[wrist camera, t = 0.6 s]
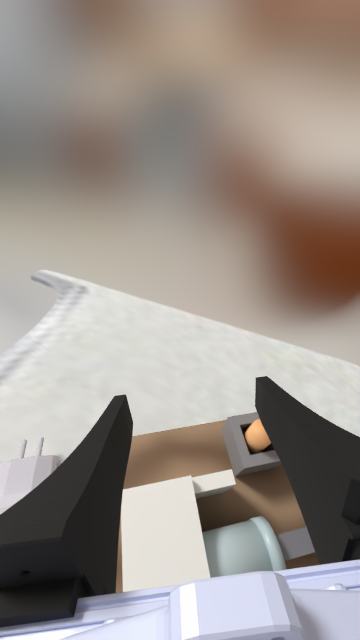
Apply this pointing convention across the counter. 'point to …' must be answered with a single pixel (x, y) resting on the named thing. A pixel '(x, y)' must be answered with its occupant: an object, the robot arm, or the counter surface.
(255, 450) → the orange rounded peg
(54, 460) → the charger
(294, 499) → the mounting board
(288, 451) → the robot arm
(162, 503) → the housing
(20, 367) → the counter surface
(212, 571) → the grey and blue plunger
